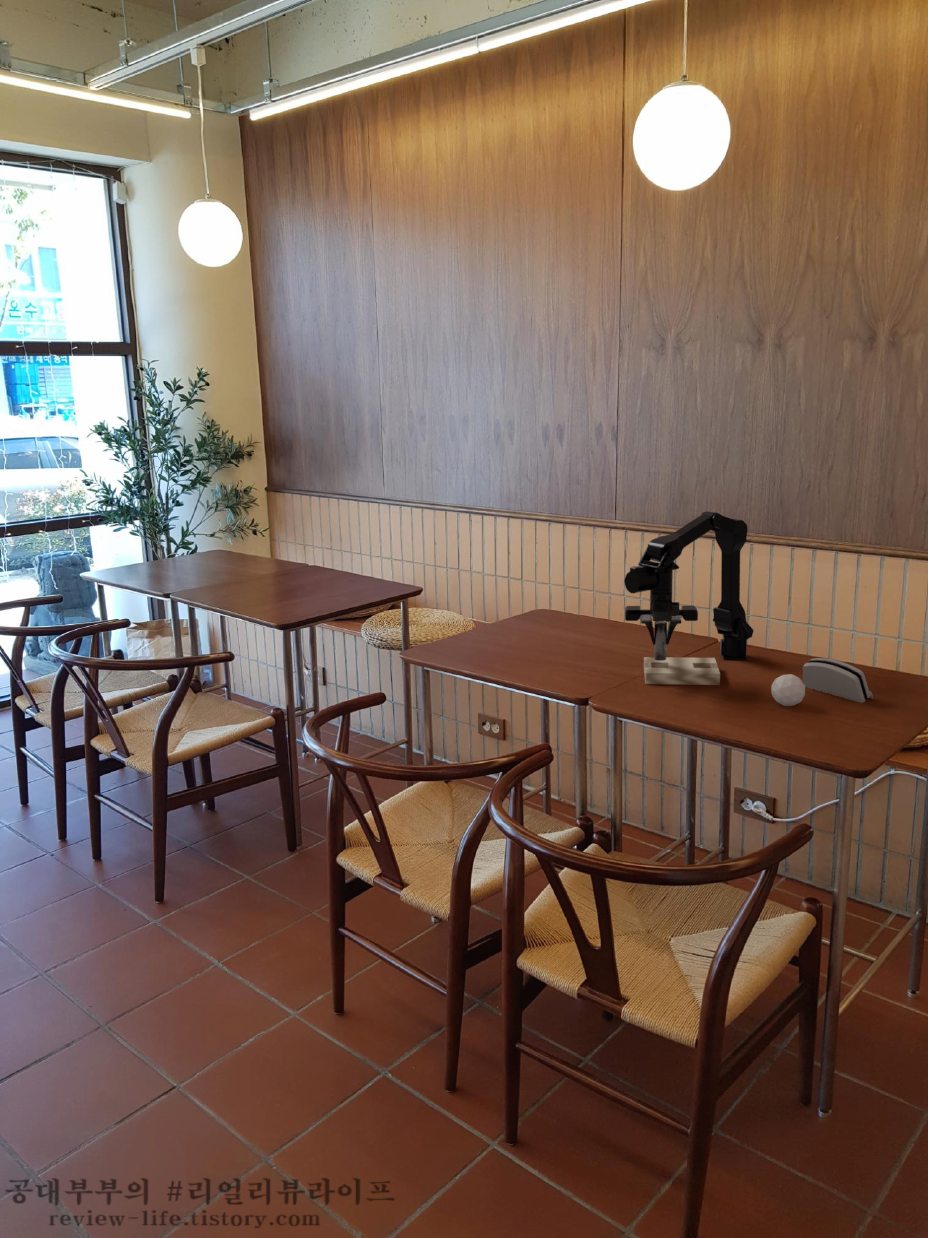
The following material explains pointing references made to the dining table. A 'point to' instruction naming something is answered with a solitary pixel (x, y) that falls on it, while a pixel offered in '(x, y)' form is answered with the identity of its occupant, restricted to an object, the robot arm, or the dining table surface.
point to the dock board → (681, 671)
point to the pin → (660, 641)
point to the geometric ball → (788, 690)
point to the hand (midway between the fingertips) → (660, 644)
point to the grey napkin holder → (836, 679)
